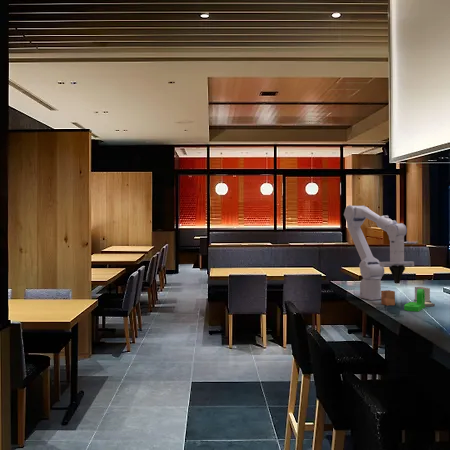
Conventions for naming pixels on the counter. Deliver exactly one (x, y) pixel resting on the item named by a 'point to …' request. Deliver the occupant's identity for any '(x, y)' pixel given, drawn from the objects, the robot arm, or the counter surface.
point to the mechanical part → (416, 305)
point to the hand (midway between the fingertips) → (397, 283)
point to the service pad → (429, 304)
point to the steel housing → (427, 293)
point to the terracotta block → (388, 297)
